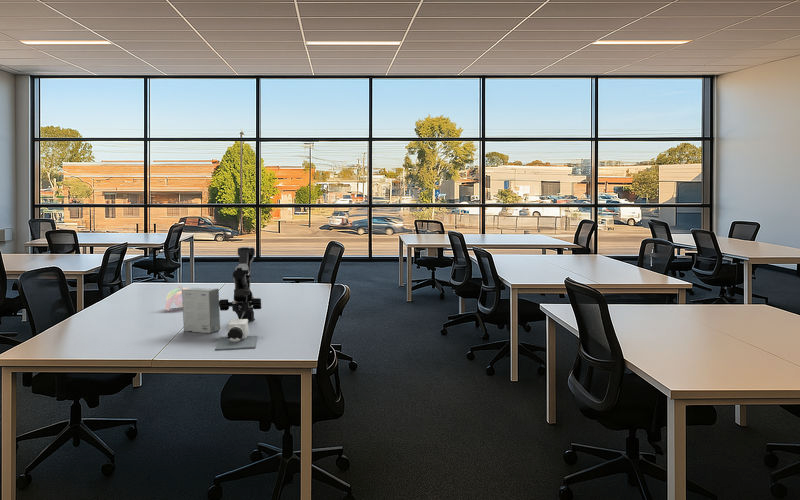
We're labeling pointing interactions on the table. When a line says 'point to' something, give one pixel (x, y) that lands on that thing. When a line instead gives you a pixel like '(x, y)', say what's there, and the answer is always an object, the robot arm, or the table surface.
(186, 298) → the hard drive box
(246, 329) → the medicine bottle
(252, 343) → the mat
